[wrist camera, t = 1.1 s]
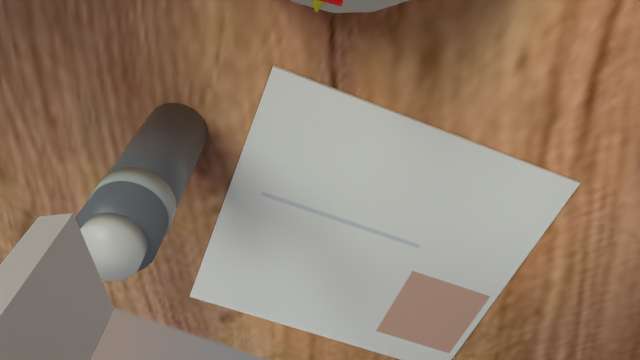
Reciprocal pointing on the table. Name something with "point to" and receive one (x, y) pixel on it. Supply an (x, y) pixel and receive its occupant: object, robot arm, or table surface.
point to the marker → (142, 192)
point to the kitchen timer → (348, 5)
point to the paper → (371, 223)
